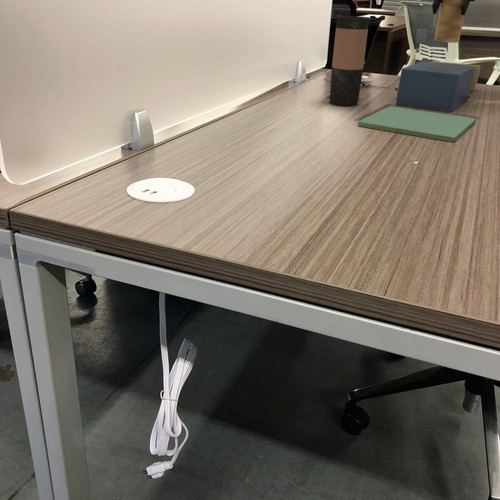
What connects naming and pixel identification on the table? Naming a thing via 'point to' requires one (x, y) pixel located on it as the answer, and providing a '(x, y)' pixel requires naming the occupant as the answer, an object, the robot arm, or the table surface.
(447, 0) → the pepper mill
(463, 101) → the cabinet
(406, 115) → the mat
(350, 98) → the travel mug
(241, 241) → the table surface
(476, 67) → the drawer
